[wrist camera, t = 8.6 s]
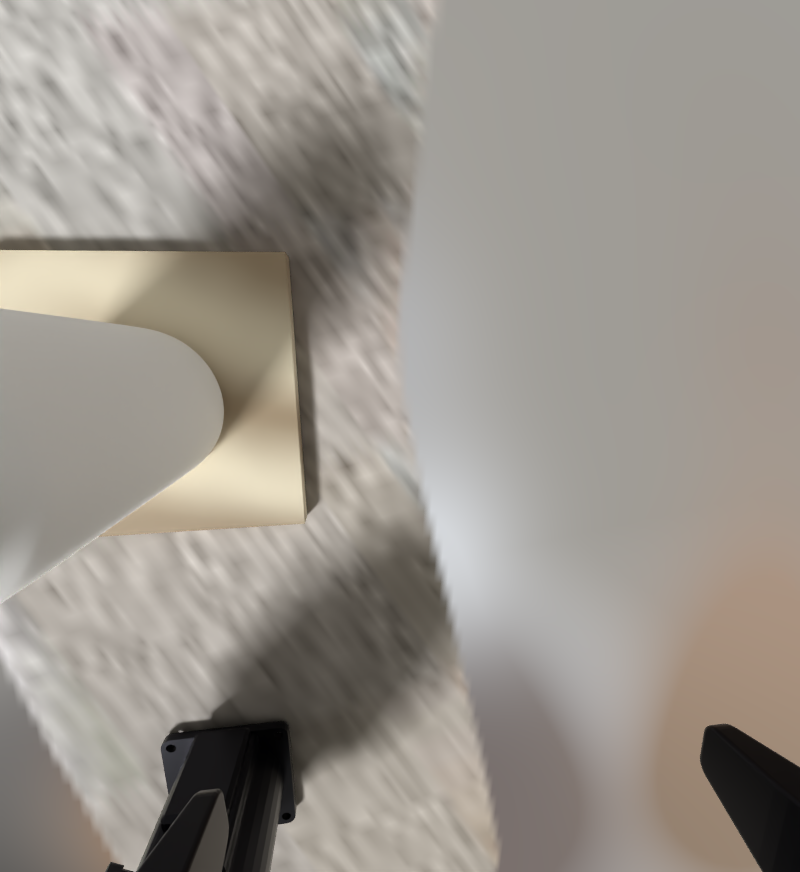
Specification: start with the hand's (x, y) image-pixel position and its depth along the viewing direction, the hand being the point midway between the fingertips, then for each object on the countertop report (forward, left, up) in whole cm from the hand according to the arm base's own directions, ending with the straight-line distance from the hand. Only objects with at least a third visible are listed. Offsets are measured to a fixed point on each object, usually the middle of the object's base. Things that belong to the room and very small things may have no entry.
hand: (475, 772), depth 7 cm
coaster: (+6, +11, -13) cm, 18 cm away
